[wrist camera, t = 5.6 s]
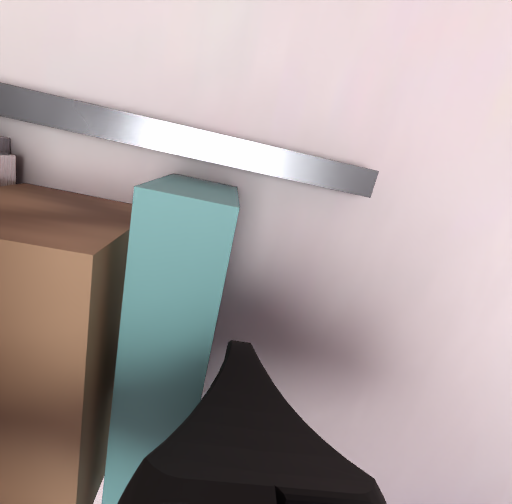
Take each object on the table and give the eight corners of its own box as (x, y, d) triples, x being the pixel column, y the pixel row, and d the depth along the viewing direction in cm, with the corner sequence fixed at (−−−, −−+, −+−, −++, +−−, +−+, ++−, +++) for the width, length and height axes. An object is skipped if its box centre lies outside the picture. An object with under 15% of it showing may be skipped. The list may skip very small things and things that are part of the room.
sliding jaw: (237, 187, 12) (239, 207, 8) (187, 438, 16) (168, 559, 11) (160, 170, 12) (111, 181, 7) (127, 432, 16) (81, 554, 11)
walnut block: (157, 209, 13) (92, 255, 7) (132, 405, 15) (72, 554, 10) (24, 183, 12) (-168, 210, 6) (24, 393, 15) (-108, 544, 9)
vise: (365, 169, 13) (474, 182, 7) (273, 468, 17) (293, 623, 12) (-70, 68, 11) (-427, -34, 5) (-42, 438, 15) (-208, 610, 9)
